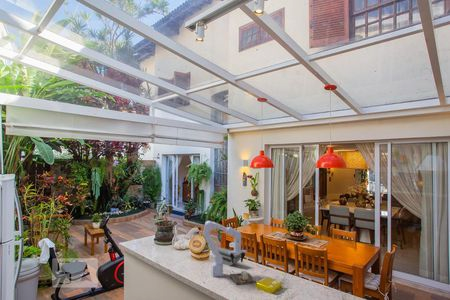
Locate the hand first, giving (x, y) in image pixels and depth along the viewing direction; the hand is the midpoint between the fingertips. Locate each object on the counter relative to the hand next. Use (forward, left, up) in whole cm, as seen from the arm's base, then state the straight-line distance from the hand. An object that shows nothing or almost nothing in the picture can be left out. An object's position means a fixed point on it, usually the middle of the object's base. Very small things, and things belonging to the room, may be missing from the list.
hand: (237, 262), depth 222 cm
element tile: (+15, -29, -10) cm, 34 cm away
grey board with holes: (+1, -11, -9) cm, 14 cm away
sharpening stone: (0, +26, -10) cm, 28 cm away
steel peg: (+1, -15, -10) cm, 18 cm away
